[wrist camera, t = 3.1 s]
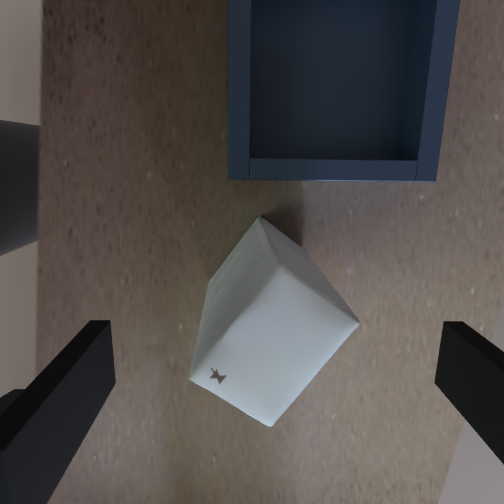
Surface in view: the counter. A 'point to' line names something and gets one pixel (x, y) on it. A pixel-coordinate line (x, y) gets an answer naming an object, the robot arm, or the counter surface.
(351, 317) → the cosmetic box
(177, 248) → the counter surface
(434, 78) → the holder
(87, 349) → the robot arm
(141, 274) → the counter surface
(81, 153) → the counter surface
